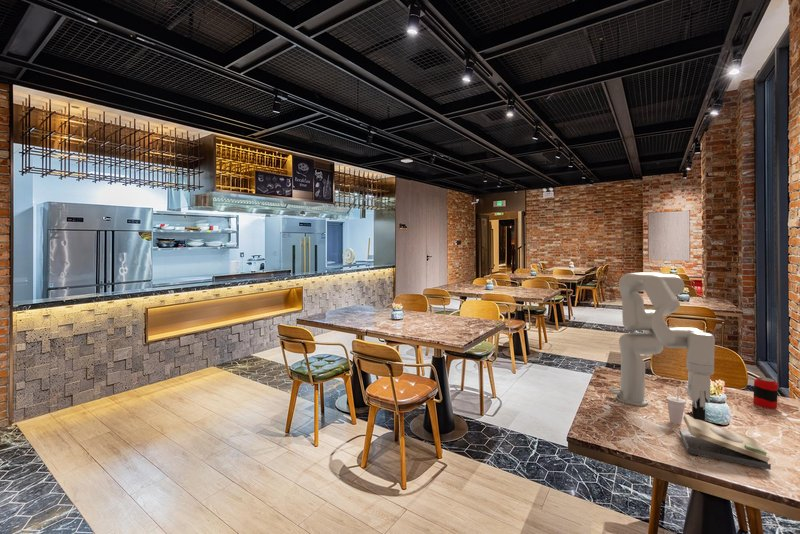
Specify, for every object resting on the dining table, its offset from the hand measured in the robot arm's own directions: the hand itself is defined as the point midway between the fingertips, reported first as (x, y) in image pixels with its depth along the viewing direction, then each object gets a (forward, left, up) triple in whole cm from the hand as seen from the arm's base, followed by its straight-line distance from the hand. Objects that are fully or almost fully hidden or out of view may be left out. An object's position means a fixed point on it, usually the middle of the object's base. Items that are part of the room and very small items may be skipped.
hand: (698, 418), depth 131 cm
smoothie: (-4, +20, -11) cm, 23 cm away
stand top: (+7, 0, -6) cm, 9 cm away
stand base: (+6, 0, -11) cm, 12 cm away
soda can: (+34, +59, -11) cm, 69 cm away
